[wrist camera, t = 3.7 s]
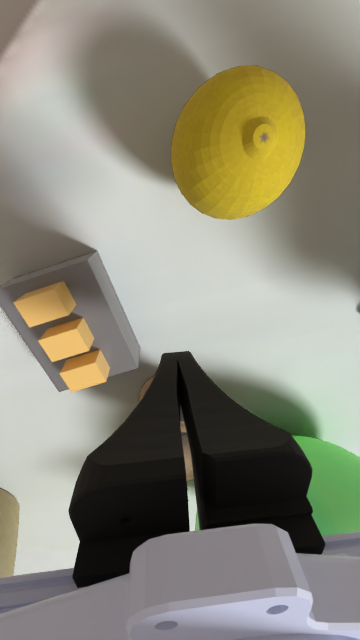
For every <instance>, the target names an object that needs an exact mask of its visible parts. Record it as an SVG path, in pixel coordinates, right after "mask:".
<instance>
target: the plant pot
mask: <svg viewBox="0 0 360 640" xmlns="http://www.w3.org/2000/svg"><path fill="white" fill-rule="evenodd" d="M18 524H19V503H18V502H17V500H16V499H15V497H14V496H12V495H11V494H10V493H8V492H7V491H5V490H3V489H0V578H1V577H9V576H13V574H14V565H15V557H16V547H17V537H18Z"/></svg>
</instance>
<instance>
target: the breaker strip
mask: <svg viewBox="0 0 360 640" xmlns="http://www.w3.org/2000/svg"><path fill="white" fill-rule="evenodd" d="M0 306H1V307H2V309H3V310H4V312H5V313H6V315H7V316H8V318H9V319H10V321H11V322H12V324H13V325H14V326H15V328H16V329H17V331H18V332H19V334H20V335H21V337H22V338H23V340H24V341H25V343H26V344H27V346H28V347H29V349H30V350H31V351H32V353H33V354H34V356H35V357H36V359H37V360H38V362H39V363H40V365H41V366H42V368H43V369H44V371H45V372H46V374H47V375H48V376H49V378H50V379H51V381H52V382H53V384H54V385H55V387H56V388H57V390H58V391H59V392H61V391H64V390H67V389H70V391H71V392H74V391H77V390H81V389H84V388H87V387H91V386H94V385H97V384H101V383H104V382H106V381H107V377H111V376H114V375H117V374H121V373H124V372H127V371H131V370H134V369H137V368H138V365H139V356H140V346H139V344H138V341H137V339H136V337H135V335H134V332H133V330H132V328H131V325H130V323H129V321H128V319H127V316H126V314H125V312H124V310H123V307H122V305H121V303H120V301H119V298H118V296H117V294H116V292H115V289H114V287H113V285H112V283H111V280H110V278H109V276H108V274H107V271H106V269H105V267H104V265H103V262H102V260H101V258H100V256H99V253H98V251H95V252H92V253H89V254H86V255H83V256H80V257H77V258H74V259H71V260H68V261H65V262H62V263H59V264H56V265H52V266H49V267H46V268H43V269H40V270H37V271H34V272H31V273H28V274H25V275H22V276H19V277H16V278H14V279H12V280H10V281H8V282H7V283H5V284H3V285H1V286H0Z"/></svg>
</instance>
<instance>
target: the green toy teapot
mask: <svg viewBox="0 0 360 640" xmlns="http://www.w3.org/2000/svg"><path fill="white" fill-rule="evenodd" d="M292 437H293V438H294V439H295V441H296V442H297V443H298V445H299V446H300V447H301V449H302V450H303V452H304V453H305V455H306V457H307V459H308V460H309V462H310V464H311V467H312V478H311V482H310V486H309V489H308V493H307V498H308V500H309V502H310V504H311V506H312V509H313V513H312V514H311V515H312V517H313V519H314V521H315V523H316V525H317V527H318V529H319V531H320V533H321V535H322V536H327V535H335V534H343V533H350V532H358V531H360V457H358V456H356V455H355V454H353V453H351V452H350V451H348V450H346V449H344V448H342V447H339V446H337V445H335V444H332V443H329V442H326V441H323V440H320V439H316V438H311V437H305V436H294V435H292ZM198 530H200V528H199V519H198V510H197V514H196V525H195V531H198Z"/></svg>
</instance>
